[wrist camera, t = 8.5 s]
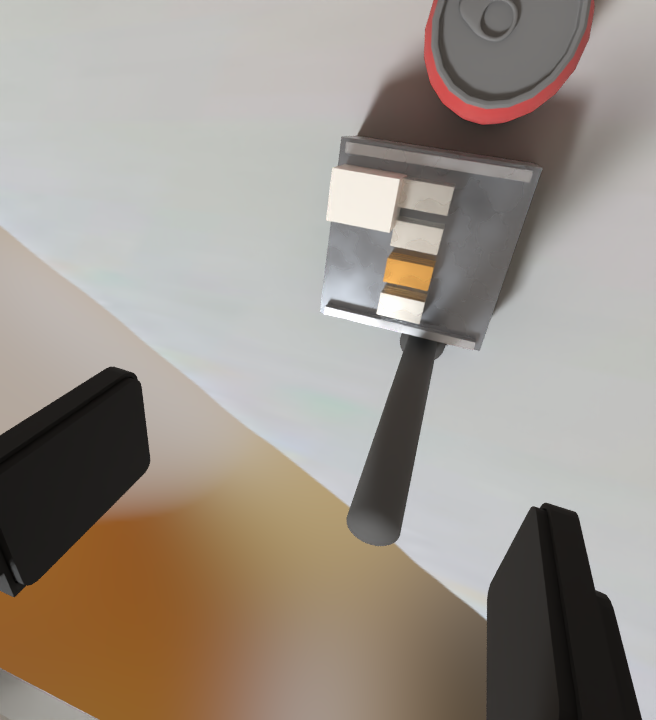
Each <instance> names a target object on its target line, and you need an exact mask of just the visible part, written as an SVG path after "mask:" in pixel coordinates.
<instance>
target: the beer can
mask: <svg viewBox="0 0 656 720" xmlns="http://www.w3.org/2000/svg"><path fill="white" fill-rule="evenodd" d="M594 8H595V5H594V0H434V1H433V4H432V8H431V11H430V14H429V18H428V21H427V25H426V28H425V46H424V60H425V64H426V68H427V72H428V76H429V80H430V84H431V85H432V87H433V89H434V90H435V92H436V93H437V95H438V97H439V98H440V100H441V101H442V103H443V104H444V105H445V106H447V107H448V108H449V109H451V110H452V111H453V112H455V113H456V114H457V115H458V116H460V117H461V118H463V119H465V120H467V121H471V122H474V123H478V124H481V125H486V124H500V123H504V122H508V121H511V120H513V119H516V118H518V117H521V116H523V115H526V114H528V113H531V112H533V111H534V110H535V109H536V108H538V107H539V106H540V105H542V104H543V103H544V102H546V101H547V100H548V99H550V98H551V97H552V96H554V95H555V94H556V93H557V91H558V90H559V89H560V88H561V86H562V85H563V84H564V83H565V81H566V80H567V79H568V78H569V76H570V75H571V74H572V73H573V71H574V70H575V69H576V66H577V64H578V62H579V60H580V58H581V56H582V53H583V51H584V49H585V47H586V45H587V43H588V40H589V36H590V31H591V25H592V20H593V14H594Z"/></svg>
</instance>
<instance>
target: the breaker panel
mask: <svg viewBox="0 0 656 720" xmlns="http://www.w3.org/2000/svg"><path fill="white" fill-rule="evenodd" d="M344 164H349V165H355V166H360V167H366V168H372V169H378V170H384V171H390V172H396V173H402V174H407V177H405V178H404V179H403V182H402V187H401V192H400V197H399V202H398V207H401V209H400V214H399V216H398V217H397V219H396V220H395V223H394V228H393V229H392V230H391V232H390V233H388V232H383V231H378V230H373V229H367V228H362V227H357V226H352V225H347V224H342V223H337V222H332V221H331V226H330V235H329V243H328V251H327V259H326V267H325V275H324V283H323V291H322V299H321V307H320V312H322V313H324V314H327V315H331V316H335V317H339V318H343V319H347V320H351V321H355V322H359V323H363V324H368V325H372V326H376V327H380V328H384V329H388V330H392V331H396V332H400V333H404V334H409V335H413V336H417V337H421V338H425V339H429V340H433V341H437V342H441V343H445V344H449V345H454V346H458V347H462V348H466V349H470V350H473V349H474V350H478V351H480V348H481V345H482V342H483V339H484V337H485V334H486V331H487V328H488V325H489V322H490V319H491V316H492V313H493V311H494V308H495V305H496V302H497V299H498V296H499V293H500V290H501V287H502V284H503V282H504V279H505V276H506V273H507V270H508V267H509V264H510V261H511V258H512V256H513V253H514V250H515V247H516V244H517V241H518V238H519V235H520V232H521V230H522V227H523V224H524V221H525V218H526V215H527V212H528V209H529V206H530V203H531V201H532V198H533V195H534V192H535V189H536V186H537V183H538V180H539V177H540V175H541V172H542V169H543V168H542V167H540V166H539V165H537V164H535V163H530V162H524V161H517V160H511V159H504V158H498V157H491V156H485V155H478V154H472V153H466V152H459V151H453V150H446V149H440V148H433V147H427V146H420V145H414V144H408V143H401V142H395V141H388V140H382V139H375V138H369V137H362V136H344V137H341V146H340V154H339V162H338V166H340V165H344Z"/></svg>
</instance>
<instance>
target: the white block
mask: <svg viewBox="0 0 656 720" xmlns="http://www.w3.org/2000/svg"><path fill="white" fill-rule="evenodd" d="M405 177H407V174H402V173H396V172H390V171H384V170H378V169H372V168H366V167H360V166H355V165H349V164H344V165H340V166H337V167H333V168H332V174H331V183H330V191H329V200H328V208H327V217H326V220H327V221H332V222H337V223H342V224H347V225H352V226H357V227H362V228H367V229H373V230H378V231H383V232H388V233H390V232H391V230H392V229H393V228H394V223H395V220H396V219H397V217H398V216H399V214H400V209H401V207H398V202H399V197H400V192H401V187H402V182H403V179H404V178H405Z"/></svg>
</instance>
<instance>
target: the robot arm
mask: <svg viewBox="0 0 656 720" xmlns="http://www.w3.org/2000/svg"><path fill="white" fill-rule="evenodd" d="M149 464H150V453H149V445H148V437H147V428H146V421H145V412H144V403H143V395H142V387H141V383H140V382H139V381H138V379H137V376H136V375H135V374H134V373H132V372H129V371H126V370H123V369H120V368H116V367H109V368H106V369H105V370H103V371H101V372H100V373H98V374H97V375H95V376H94V377H92V378H90V379H89V380H87V381H86V382H84V383H82V384H81V385H79V386H78V387H76V388H74V389H73V390H71V391H70V392H68V393H67V394H65V395H63V396H62V397H60V398H59V399H57V400H55V401H54V402H52V403H51V404H49V405H48V406H46V407H44V408H43V409H41V410H40V411H38V412H37V413H35V414H33V415H32V416H30V417H29V418H27V419H25V420H24V421H22V422H21V423H19V424H18V425H16V426H14V427H13V428H11V429H10V430H8V431H6V432H5V433H3V434H2V435H0V591H2V592H4V593H6V594H8V595H10V596H12V597H15V596H16V595H17V594H18V593H19V592H20V591H21V590H22V589H23V588H24V587H25V586H26V585H27V586H28V585H32V584H33V583H35V582H36V581H38V579H40V578H41V577H42V576H43V575H44V574H45V573H46V572H47V571H48V570H49V569H50V568H51V567H52V566H53V565H54V564H55V563H56V562H57V561H58V560H59V559H60V558H61V557H62V556H63V555H64V554H65V553H66V552H67V551H68V550H69V548H71V547H72V546H73V545H74V544H75V543H76V542H77V541H78V540H79V539H80V538H81V537H82V536H83V535H84V534H85V532H87V530H89V528H91V527H92V526H93V525H94V524H95V522H97V521H98V519H100V517H102V516H103V515H104V514H105V513H106V512H107V511H108V510H109V509H110V508H111V506H113V505H114V503H116V501H117V500H118V499H119V498H120V497H121V496H122V495H123V494H124V493H125V492H126V491H127V490H128V489H129V488H130V487H131V486H132V485H133V484H134V483H135V482H136V481H137V480H138V479H139V478H140V477H141V476H142V475H143V474H144V473H145V472H146V470H147V469H148V467H149ZM0 720H98V719H96V718H94V717H93V716H91V715H89V714H87V713H85V712H83V711H81V710H79V709H77V708H76V707H74V706H72V705H70V704H68V703H66V702H64V701H62V700H60V699H58V698H57V697H55V696H53V695H51V694H49V693H47V692H45V691H43V690H41V689H39V688H38V687H36V686H33V685H32V684H30V683H28V682H26V681H24V680H22V679H20V678H18V677H16V676H14V675H13V674H11V673H9V672H7V671H5V670H3V669H1V668H0ZM487 720H642V718H641V714H640V710H639V706H638V702H637V698H636V694H635V691H634V687H633V683H632V679H631V675H630V671H629V667H628V663H627V659H626V655H625V651H624V648H623V644H622V640H621V636H620V632H619V628H618V624H617V620H616V616H615V612H614V609H613V606H612V604H611V601H610V599H609V598H608V597H607V595H606V594H603V593H601V592H599V591H596V590H595V587H594V583H593V578H592V574H591V570H590V565H589V561H588V556H587V552H586V548H585V543H584V539H583V534H582V530H581V526H580V521H579V517H578V515H577V513H576V512H574V511H571V510H568V509H564V508H561V507H558V506H555V505H552V504H548V503H544V504H542V506H541V507H540V508H537V507H534V506H533V507H531V508H530V510H529V512H528V514H527V515H526V517H525V519H524V521H523V523H522V525H521V527H520V529H519V531H518V532H517V534H516V536H515V538H514V540H513V542H512V544H511V546H510V548H509V549H508V551H507V553H506V555H505V557H504V559H503V561H502V563H501V565H500V566H499V568H498V570H497V572H496V574H495V576H494V578H493V580H492V582H491V584H490V587H489V591H488V597H487Z"/></svg>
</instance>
